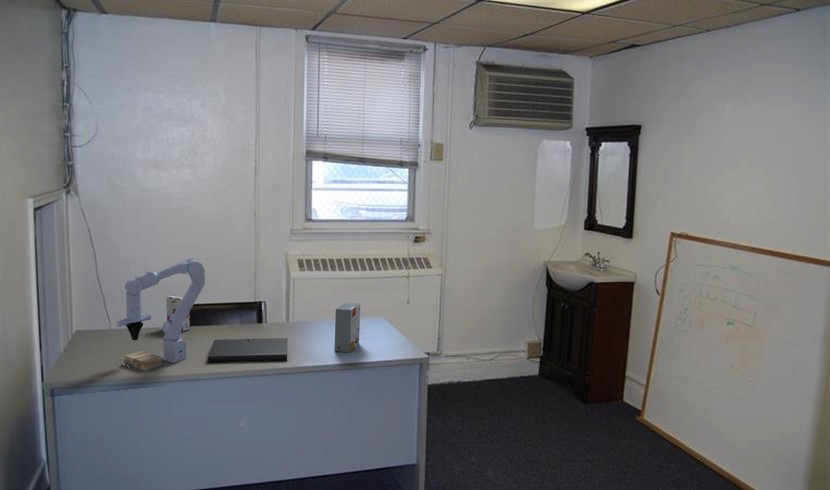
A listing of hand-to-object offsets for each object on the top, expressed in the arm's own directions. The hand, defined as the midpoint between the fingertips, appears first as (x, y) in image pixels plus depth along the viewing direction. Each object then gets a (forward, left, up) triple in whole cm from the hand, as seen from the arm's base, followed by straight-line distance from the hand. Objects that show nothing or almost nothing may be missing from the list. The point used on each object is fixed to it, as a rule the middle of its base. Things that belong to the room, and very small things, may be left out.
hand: (134, 339), depth 274 cm
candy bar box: (+28, -43, -10) cm, 52 cm away
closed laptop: (-28, -38, -11) cm, 48 cm away
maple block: (+1, 0, -8) cm, 8 cm away
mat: (-4, 0, -10) cm, 11 cm away
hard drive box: (-56, -72, -10) cm, 92 cm away
